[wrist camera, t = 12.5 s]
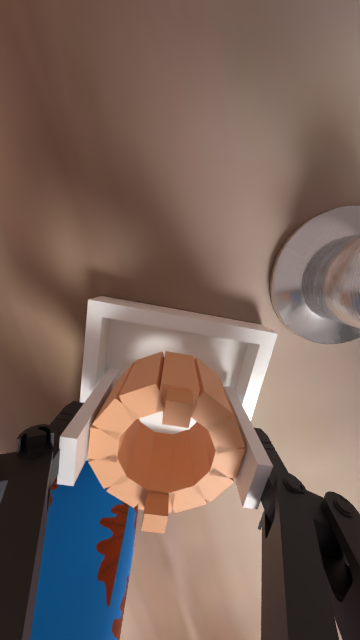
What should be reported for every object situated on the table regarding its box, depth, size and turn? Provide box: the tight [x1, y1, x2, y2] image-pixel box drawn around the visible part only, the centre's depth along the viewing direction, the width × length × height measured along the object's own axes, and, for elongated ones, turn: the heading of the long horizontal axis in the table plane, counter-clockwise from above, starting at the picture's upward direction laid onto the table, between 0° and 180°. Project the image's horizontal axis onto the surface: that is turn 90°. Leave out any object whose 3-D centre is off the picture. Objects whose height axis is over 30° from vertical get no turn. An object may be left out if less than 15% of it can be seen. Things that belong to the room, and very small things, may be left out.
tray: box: [80, 296, 278, 461], centre depth 16 cm, size 13×13×2 cm
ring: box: [88, 351, 245, 534], centre depth 12 cm, size 8×8×5 cm
